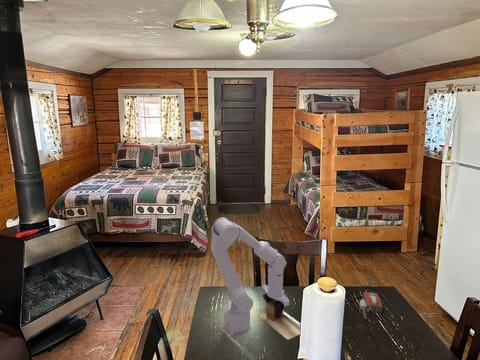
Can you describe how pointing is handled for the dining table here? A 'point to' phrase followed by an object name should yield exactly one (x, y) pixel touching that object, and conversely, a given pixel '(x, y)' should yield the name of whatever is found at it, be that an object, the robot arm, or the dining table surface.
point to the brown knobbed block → (271, 311)
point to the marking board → (284, 325)
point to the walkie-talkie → (370, 303)
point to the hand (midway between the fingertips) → (274, 314)
